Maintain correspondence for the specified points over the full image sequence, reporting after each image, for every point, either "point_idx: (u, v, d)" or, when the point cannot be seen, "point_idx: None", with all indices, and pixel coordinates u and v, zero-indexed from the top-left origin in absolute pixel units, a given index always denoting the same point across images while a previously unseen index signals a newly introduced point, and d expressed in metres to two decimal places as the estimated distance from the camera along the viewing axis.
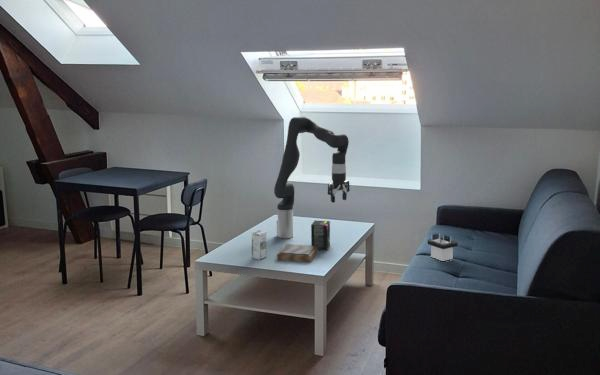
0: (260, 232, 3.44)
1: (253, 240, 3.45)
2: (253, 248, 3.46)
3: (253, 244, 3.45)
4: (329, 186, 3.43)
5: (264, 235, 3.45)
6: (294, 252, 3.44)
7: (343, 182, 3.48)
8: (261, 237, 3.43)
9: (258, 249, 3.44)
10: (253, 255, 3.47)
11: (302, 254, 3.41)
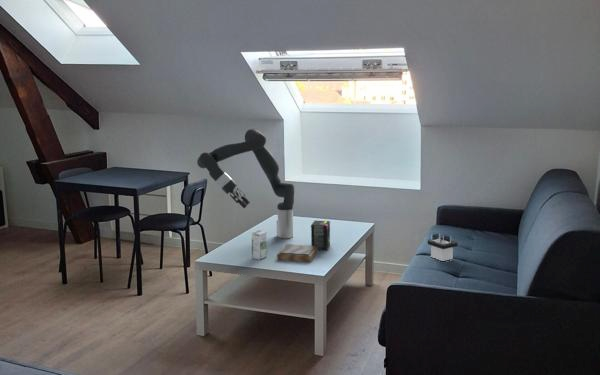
0: (260, 232, 3.44)
1: (253, 240, 3.45)
2: (253, 248, 3.46)
3: (253, 244, 3.45)
4: None
5: (264, 235, 3.45)
6: (294, 252, 3.44)
7: None
8: (261, 237, 3.43)
9: (258, 249, 3.44)
10: (253, 255, 3.47)
11: (302, 254, 3.41)
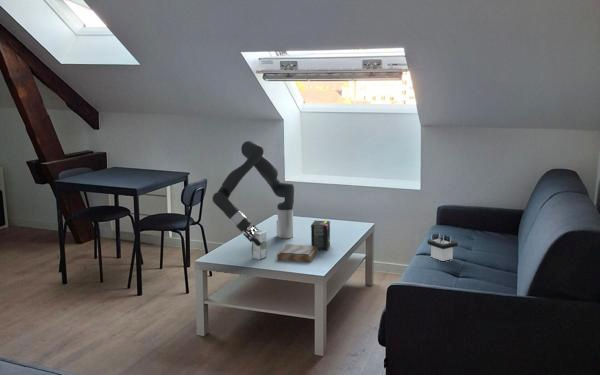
0: (260, 232, 3.44)
1: None
2: (253, 248, 3.46)
3: (253, 244, 3.45)
4: None
5: (264, 235, 3.45)
6: (294, 252, 3.44)
7: None
8: (261, 237, 3.43)
9: (258, 249, 3.44)
10: (253, 255, 3.47)
11: (302, 254, 3.41)
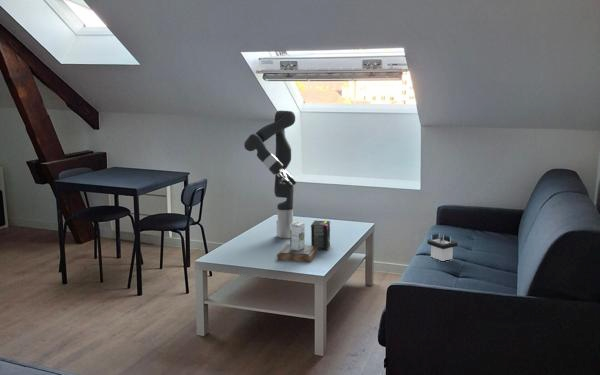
0: (298, 223, 3.46)
1: (291, 231, 3.46)
2: (291, 239, 3.47)
3: (291, 235, 3.47)
4: None
5: (302, 226, 3.47)
6: (294, 252, 3.44)
7: None
8: (300, 229, 3.45)
9: (297, 240, 3.46)
10: (291, 246, 3.48)
11: (302, 254, 3.41)
